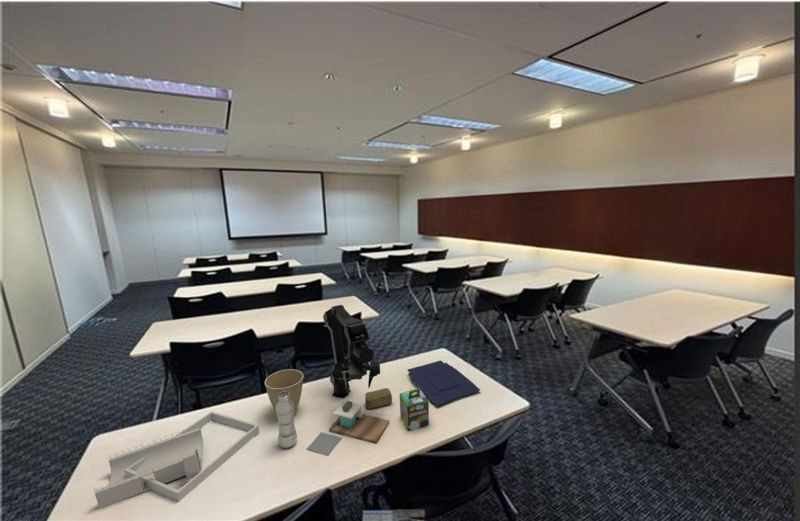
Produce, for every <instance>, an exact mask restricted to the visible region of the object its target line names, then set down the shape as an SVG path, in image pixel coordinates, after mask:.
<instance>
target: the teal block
mask: <svg viewBox="0 0 800 521" xmlns="http://www.w3.org/2000/svg"><path fill="white" fill-rule="evenodd" d="M356 422H357V420H356V414H355V415H354V417H353V418H352V419H350V418H346V417H342V416H340V425H339V426H342V427H345V428H349V429H352V428H353V426H354V425H355V424H356Z"/></svg>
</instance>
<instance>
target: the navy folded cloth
mask: <svg viewBox="0 0 800 521" xmlns="http://www.w3.org/2000/svg"><path fill="white" fill-rule="evenodd" d="M406 370H407V372H408V373H407V374H408V376H409V378H410V379H411V380H412V381H413V382H414V383H415V384H416V385H417V386H418V388H420V389H421V391H422V392H423V393H424V395H425V396H426V397H427V398H428V400H429V401H432V402H433V404H434V405H435V406H439V405H442V404H444V403H447V402H449V401H452V400H454V399H457V398H460V397H463V396H466V395H469V394H472V393H475V392H479V391H481V389H480V388H479V387H478V386H477V385H476V384H475V383H474V382H473V381H471V380H470V379H469V378H468V377H466V376H465V375H463V373H462V372H460V371H459V370H458V369H457V368H455V367H454V366H453V365H450V364H449V363H448V362H444V361H442V359H440V360H437V361H433V362H431V363H427V364H423V365H419V366H415V367H411V368H408V369H406Z"/></svg>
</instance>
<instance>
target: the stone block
mask: <svg viewBox="0 0 800 521" xmlns="http://www.w3.org/2000/svg"><path fill="white" fill-rule="evenodd" d="M392 395H393V394H392V391H391V390H390V388H387V387H385V388H380V389H375V390H372V391H369V392H366V393H365V397H364V401H365V402H364V403H365V408H366V409H370V410H371V409H375V408H379V407H382V406H386V405H390V404H391V403H393V396H392Z"/></svg>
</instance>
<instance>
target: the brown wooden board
mask: <svg viewBox="0 0 800 521" xmlns="http://www.w3.org/2000/svg"><path fill="white" fill-rule="evenodd" d="M389 424H390V420H388V419H385V418H380V417H378V416H377V417H376V416H372V415H368V414H364V413H362V417H357V416H356V423H355V425H354V426H353V427H352V428H351V429H349V428H345V427H342V426H340V416H338V417H337V418H336V420H334V422H333V424H331V425H330V426H329V428H328V432H329V433H332V434H336V435H340V436H345V437H348V438H352V439H356V440H360V441H364V442H368V443H372V444H375V445H377V444H378V443H379V441H380V439H381V437H382V436H383V434H384V433H385V431H386V429H387V428H388V427H389Z"/></svg>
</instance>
